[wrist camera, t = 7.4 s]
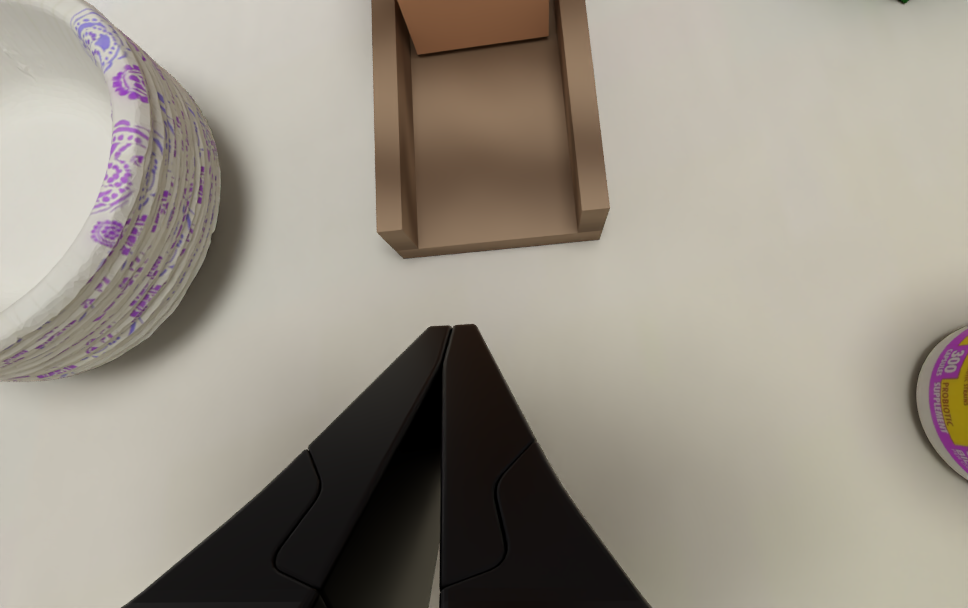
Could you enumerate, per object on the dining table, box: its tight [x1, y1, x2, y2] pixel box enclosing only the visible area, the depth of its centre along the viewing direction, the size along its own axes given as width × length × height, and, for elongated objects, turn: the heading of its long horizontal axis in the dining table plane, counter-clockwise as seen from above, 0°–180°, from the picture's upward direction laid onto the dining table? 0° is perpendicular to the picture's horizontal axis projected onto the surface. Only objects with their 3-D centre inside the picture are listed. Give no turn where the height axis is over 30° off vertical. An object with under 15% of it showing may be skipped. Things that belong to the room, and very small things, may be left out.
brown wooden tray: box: [371, 0, 610, 259], centre depth 22 cm, size 18×9×4 cm, turn 4°
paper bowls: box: [0, 0, 221, 382], centre depth 21 cm, size 15×15×8 cm
